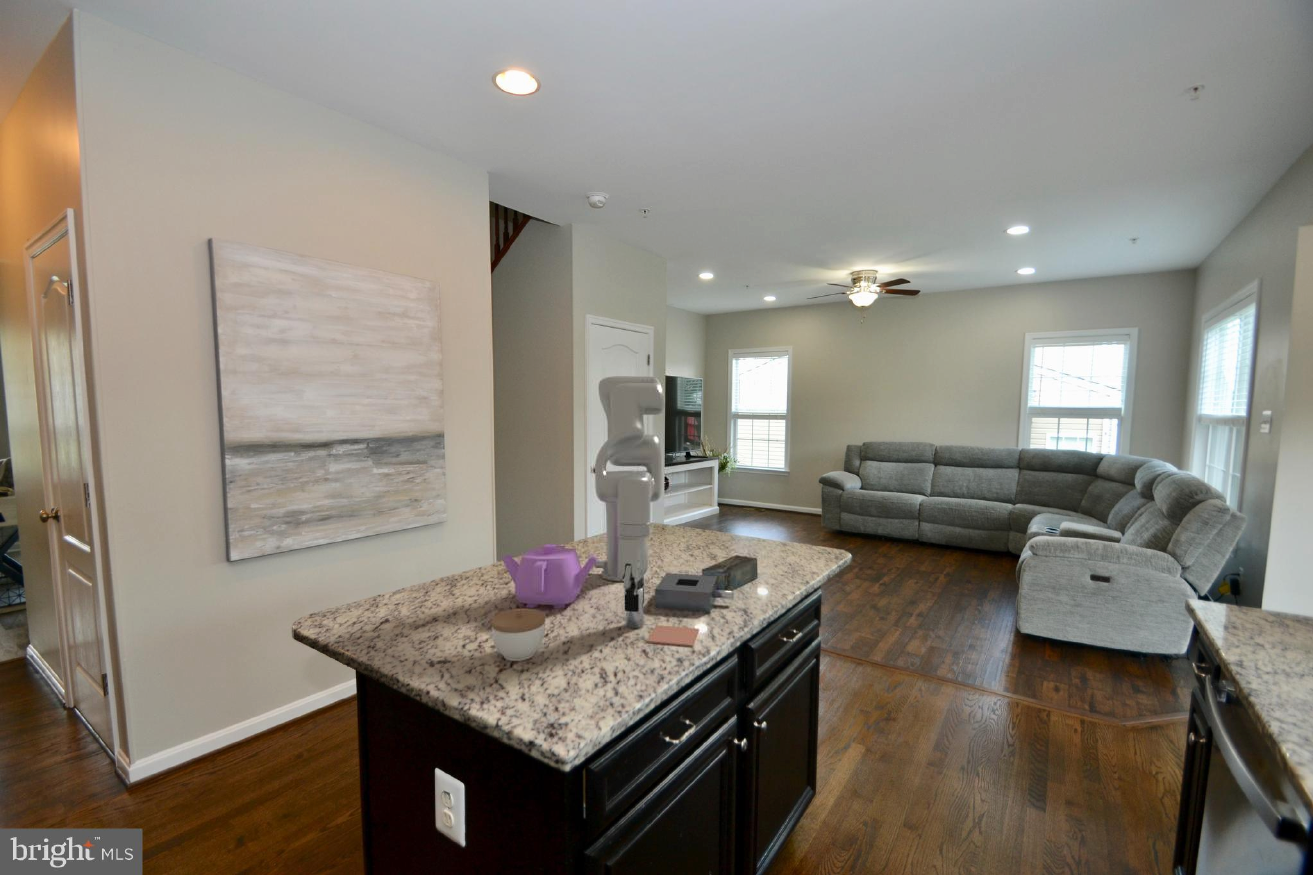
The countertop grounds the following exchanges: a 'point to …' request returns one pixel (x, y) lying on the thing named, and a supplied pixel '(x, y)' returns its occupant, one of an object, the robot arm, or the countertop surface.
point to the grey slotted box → (689, 592)
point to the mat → (673, 635)
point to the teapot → (548, 575)
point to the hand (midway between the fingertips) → (634, 606)
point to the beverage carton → (733, 572)
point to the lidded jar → (518, 633)
